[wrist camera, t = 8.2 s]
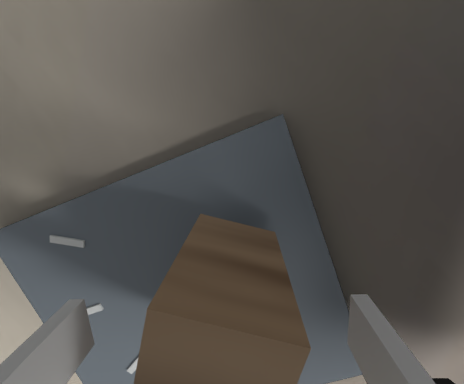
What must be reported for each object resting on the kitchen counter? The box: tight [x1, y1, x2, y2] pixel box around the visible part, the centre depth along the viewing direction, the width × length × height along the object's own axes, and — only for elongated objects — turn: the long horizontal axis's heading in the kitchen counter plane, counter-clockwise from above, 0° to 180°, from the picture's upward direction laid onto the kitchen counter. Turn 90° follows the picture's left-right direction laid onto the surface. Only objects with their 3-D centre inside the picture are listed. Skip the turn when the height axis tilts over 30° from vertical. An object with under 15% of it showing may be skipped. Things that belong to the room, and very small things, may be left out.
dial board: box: [0, 114, 363, 384], centre depth 18 cm, size 22×20×1 cm
